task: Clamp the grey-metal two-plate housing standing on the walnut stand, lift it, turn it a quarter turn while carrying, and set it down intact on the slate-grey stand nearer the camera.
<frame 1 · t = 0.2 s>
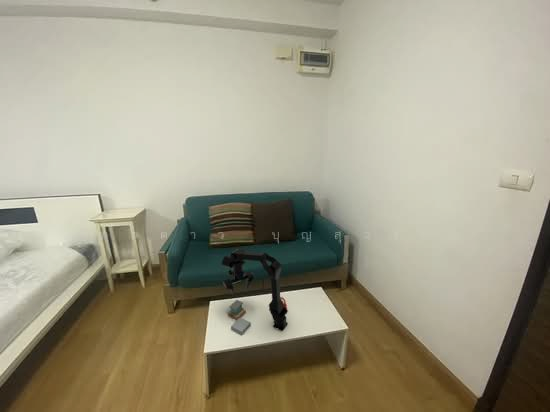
hand: (239, 291, 143), 14 cm above the table, fingers open, 9 cm apart
stand a: (237, 314, 142), on the table
stand b: (241, 327, 132), on the table
housing: (236, 311, 142), point 2 cm above the table, touching stand a
alarm clock: (279, 308, 147), on the table
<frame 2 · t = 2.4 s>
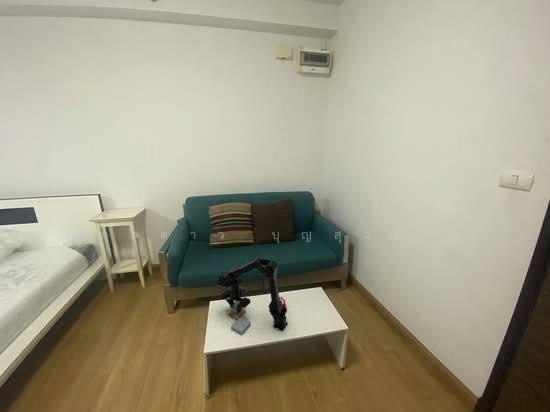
hand: (236, 310, 142), 3 cm above the table, fingers closed on housing, 5 cm apart
housing: (236, 311, 142), point 2 cm above the table, touching gripper, stand a
everything else where it was.
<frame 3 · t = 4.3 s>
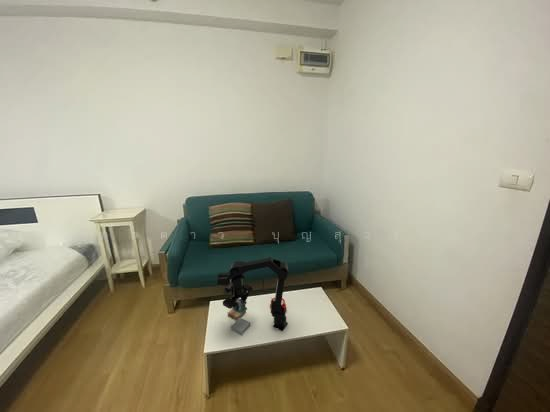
hand: (239, 308, 129), 13 cm above the table, fingers closed on housing, 5 cm apart
housing: (239, 309, 130), point 12 cm above the table, touching gripper
everything else where it was.
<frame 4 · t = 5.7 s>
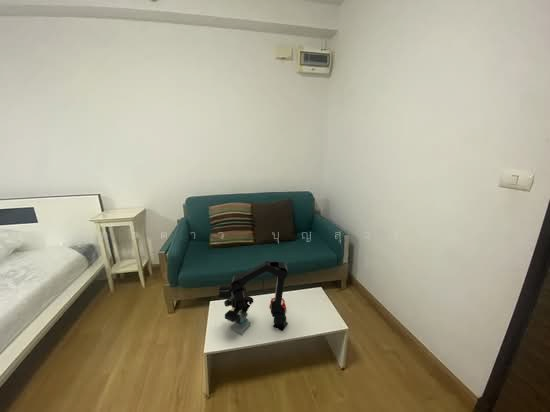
hand: (240, 320, 131), 5 cm above the table, fingers closed on housing, 5 cm apart
housing: (240, 321, 131), point 5 cm above the table, touching gripper
everything else where it was.
when the fingers open (4 cm above the table, at t = 6.7 s): housing drops 1 cm, resting on stand b.
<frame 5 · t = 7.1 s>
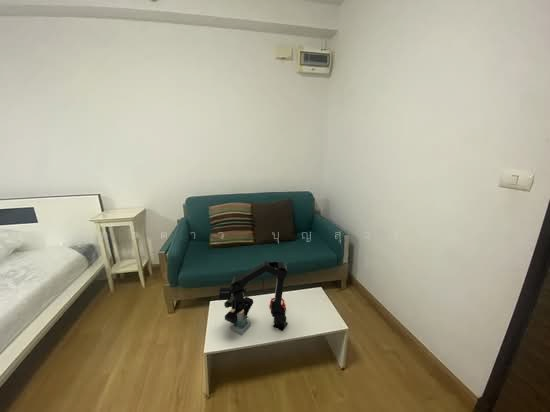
hand: (240, 321, 131), 4 cm above the table, fingers open, 9 cm apart
housing: (240, 324, 132), point 2 cm above the table, touching stand b
everything else where it was.
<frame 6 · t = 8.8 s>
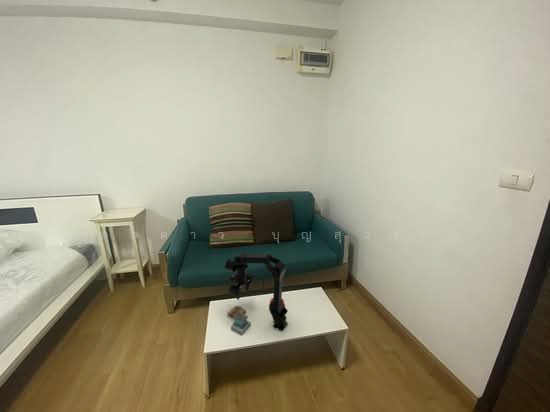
hand: (242, 295, 142), 12 cm above the table, fingers open, 9 cm apart
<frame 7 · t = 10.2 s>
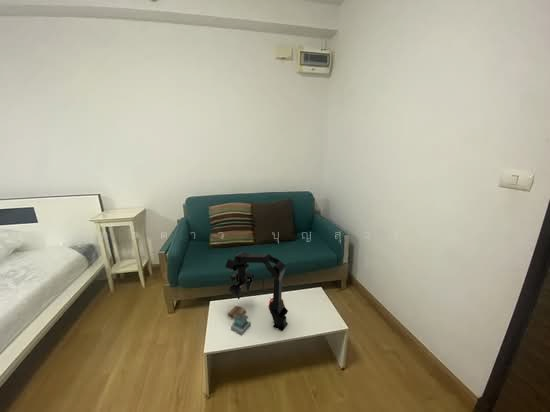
hand: (243, 294, 142), 12 cm above the table, fingers open, 9 cm apart
at the end: housing 0.1 cm off-centre on the stand b, point 2.5 cm above the stand b's base; housing tilted 0°; the gripper is holding nothing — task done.
